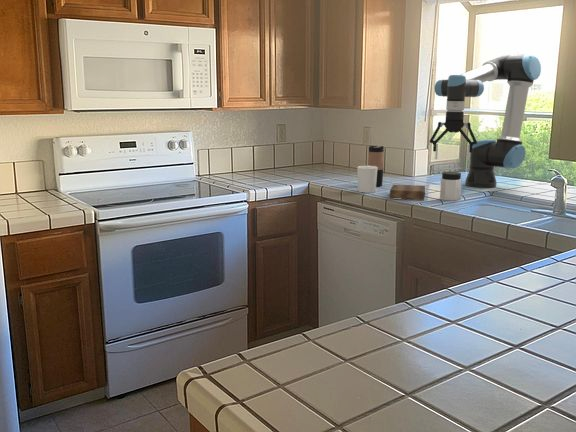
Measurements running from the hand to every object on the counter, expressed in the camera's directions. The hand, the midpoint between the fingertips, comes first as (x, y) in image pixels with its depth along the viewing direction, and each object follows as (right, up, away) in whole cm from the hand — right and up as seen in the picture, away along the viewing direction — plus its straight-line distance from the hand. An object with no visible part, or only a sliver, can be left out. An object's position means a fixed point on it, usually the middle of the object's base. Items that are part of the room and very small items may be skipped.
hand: (451, 159), depth 264 cm
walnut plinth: (-17, -16, +11) cm, 26 cm away
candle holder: (-35, -13, +23) cm, 44 cm away
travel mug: (-28, -10, +39) cm, 49 cm away
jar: (0, -18, +4) cm, 18 cm away
